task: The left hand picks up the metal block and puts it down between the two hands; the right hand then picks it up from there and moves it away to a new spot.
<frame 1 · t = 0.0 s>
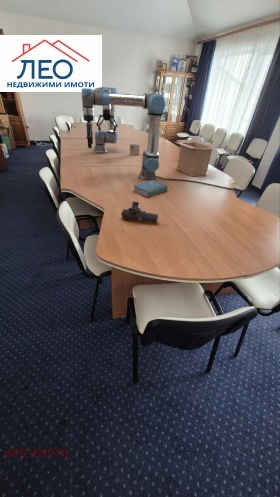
left hand: (107, 134, 215), 28 cm above the table, tool pointing down, fingers open, 13 cm apart
right hand: (90, 146, 173), 28 cm above the table, tool pointing down, fingers open, 13 cm apart
book: (150, 191, 179), on the table
laser sight: (138, 220, 139), on the table
box: (191, 171, 227), on the table
block: (134, 154, 271), on the table
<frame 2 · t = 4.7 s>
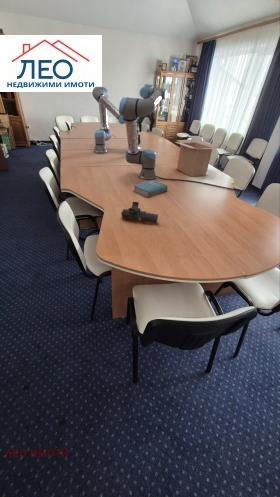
left hand: (134, 150, 268), 5 cm above the table, tool pointing down, fingers closed on block, 8 cm apart
right hand: (145, 131, 213), 33 cm above the table, tool pointing down, fingers open, 13 cm apart
block: (134, 154, 271), on the table, touching left hand
everything else where it was.
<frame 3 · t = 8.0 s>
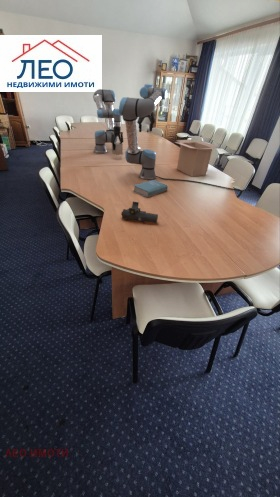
left hand: (117, 149, 243), 10 cm above the table, tool pointing down, fingers closed on block, 8 cm apart
right hand: (145, 131, 213), 33 cm above the table, tool pointing down, fingers open, 13 cm apart
block: (117, 153, 246), point 6 cm above the table, touching left hand
everything else where it was.
when the left hand's fingers open (6 cm above the table, at t = 11.6 s): block drops 1 cm, on the table.
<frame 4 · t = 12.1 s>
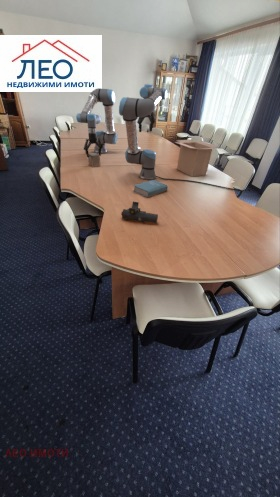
left hand: (93, 156, 220), 9 cm above the table, tool pointing down, fingers open, 13 cm apart
right hand: (145, 131, 213), 33 cm above the table, tool pointing down, fingers open, 13 cm apart
block: (94, 165, 225), on the table
everything else where it was.
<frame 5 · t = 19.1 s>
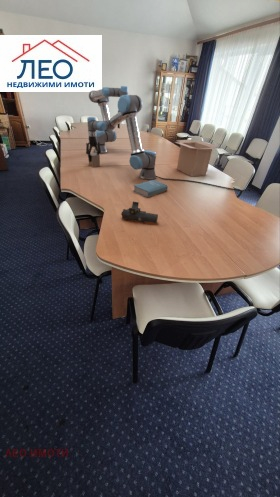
left hand: (123, 128, 240), 30 cm above the table, tool pointing down, fingers open, 13 cm apart
right hand: (94, 160, 223), 5 cm above the table, tool pointing down, fingers closed on block, 8 cm apart
block: (94, 165, 225), on the table, touching right hand
everything else where it was.
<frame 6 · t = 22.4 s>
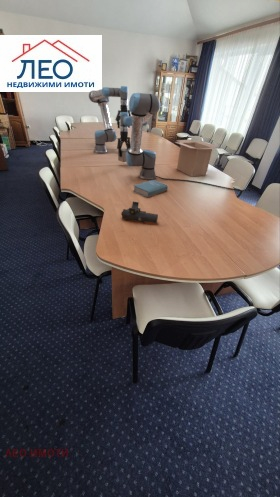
left hand: (123, 128, 240), 30 cm above the table, tool pointing down, fingers open, 13 cm apart
right hand: (123, 156, 225), 10 cm above the table, tool pointing down, fingers closed on block, 8 cm apart
block: (123, 160, 227), point 5 cm above the table, touching right hand
everything else where it was.
when the right hand's fingers open (6 cm above the table, at t = 26.1 s): block drops 1 cm, on the table.
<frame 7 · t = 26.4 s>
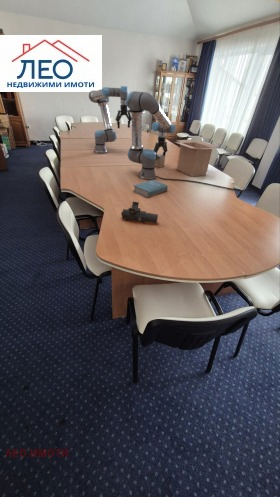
left hand: (123, 128, 240), 30 cm above the table, tool pointing down, fingers open, 13 cm apart
right hand: (159, 159, 234), 7 cm above the table, tool pointing down, fingers open, 11 cm apart
block: (158, 165, 238), on the table
everything else where it was.
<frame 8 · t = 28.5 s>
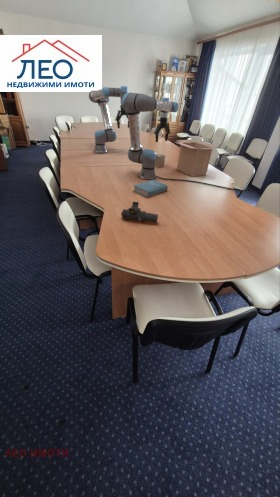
left hand: (123, 128, 240), 30 cm above the table, tool pointing down, fingers open, 13 cm apart
right hand: (161, 141, 224), 24 cm above the table, tool pointing down, fingers open, 13 cm apart
nothing on the table moved.
at the end: block inside the target area (0.1 cm from its centre), on the table; block tilted 0°; the two hands never held the block at the same time; the left hand is holding nothing; the right hand is holding nothing; block at rest at the end (0.0 cm/s) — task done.
